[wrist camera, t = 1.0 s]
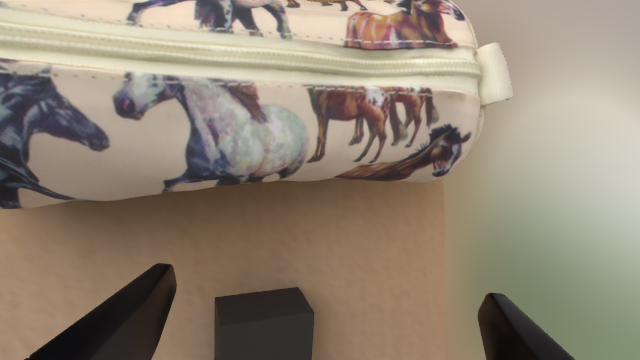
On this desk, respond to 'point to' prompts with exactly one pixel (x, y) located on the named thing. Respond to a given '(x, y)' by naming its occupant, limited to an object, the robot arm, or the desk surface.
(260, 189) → the desk surface
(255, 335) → the black block
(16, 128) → the pencil case
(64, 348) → the robot arm
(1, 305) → the desk surface
